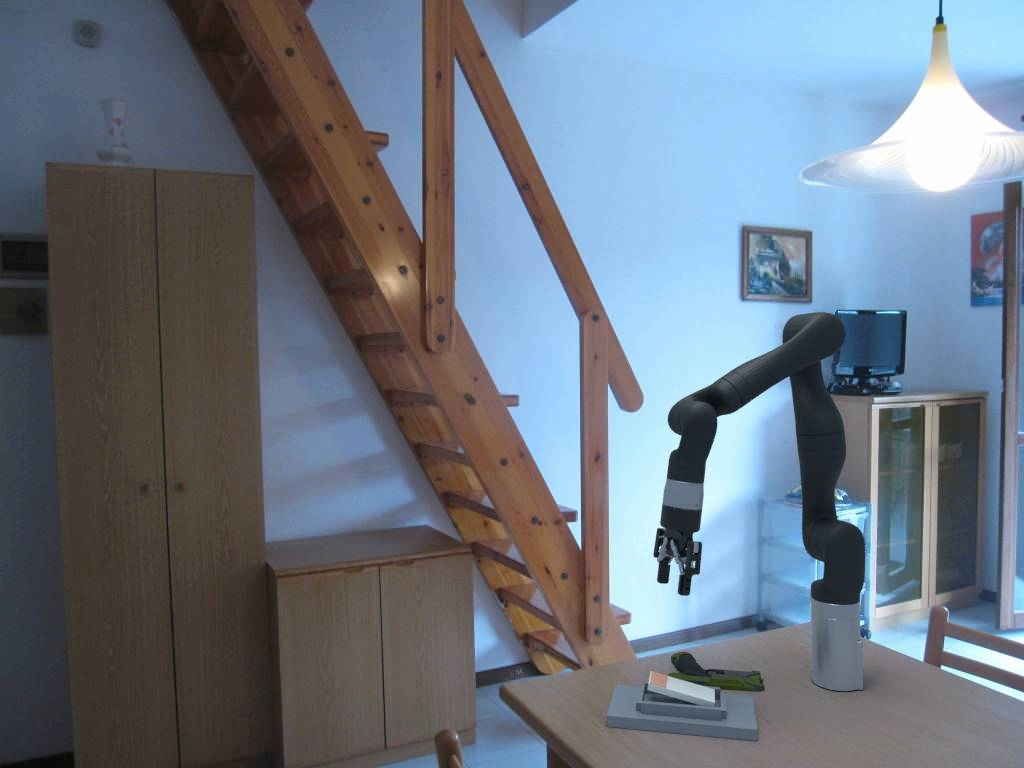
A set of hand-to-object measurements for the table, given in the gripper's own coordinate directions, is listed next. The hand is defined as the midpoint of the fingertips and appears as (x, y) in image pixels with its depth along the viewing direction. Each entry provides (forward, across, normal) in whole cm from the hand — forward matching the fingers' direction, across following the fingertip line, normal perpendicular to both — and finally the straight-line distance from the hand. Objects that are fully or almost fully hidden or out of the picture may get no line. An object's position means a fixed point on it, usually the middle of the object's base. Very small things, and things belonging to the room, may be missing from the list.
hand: (672, 588), depth 148 cm
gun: (+21, +10, -18) cm, 29 cm away
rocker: (+17, -5, -2) cm, 18 cm away
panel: (+22, -5, -2) cm, 23 cm away
